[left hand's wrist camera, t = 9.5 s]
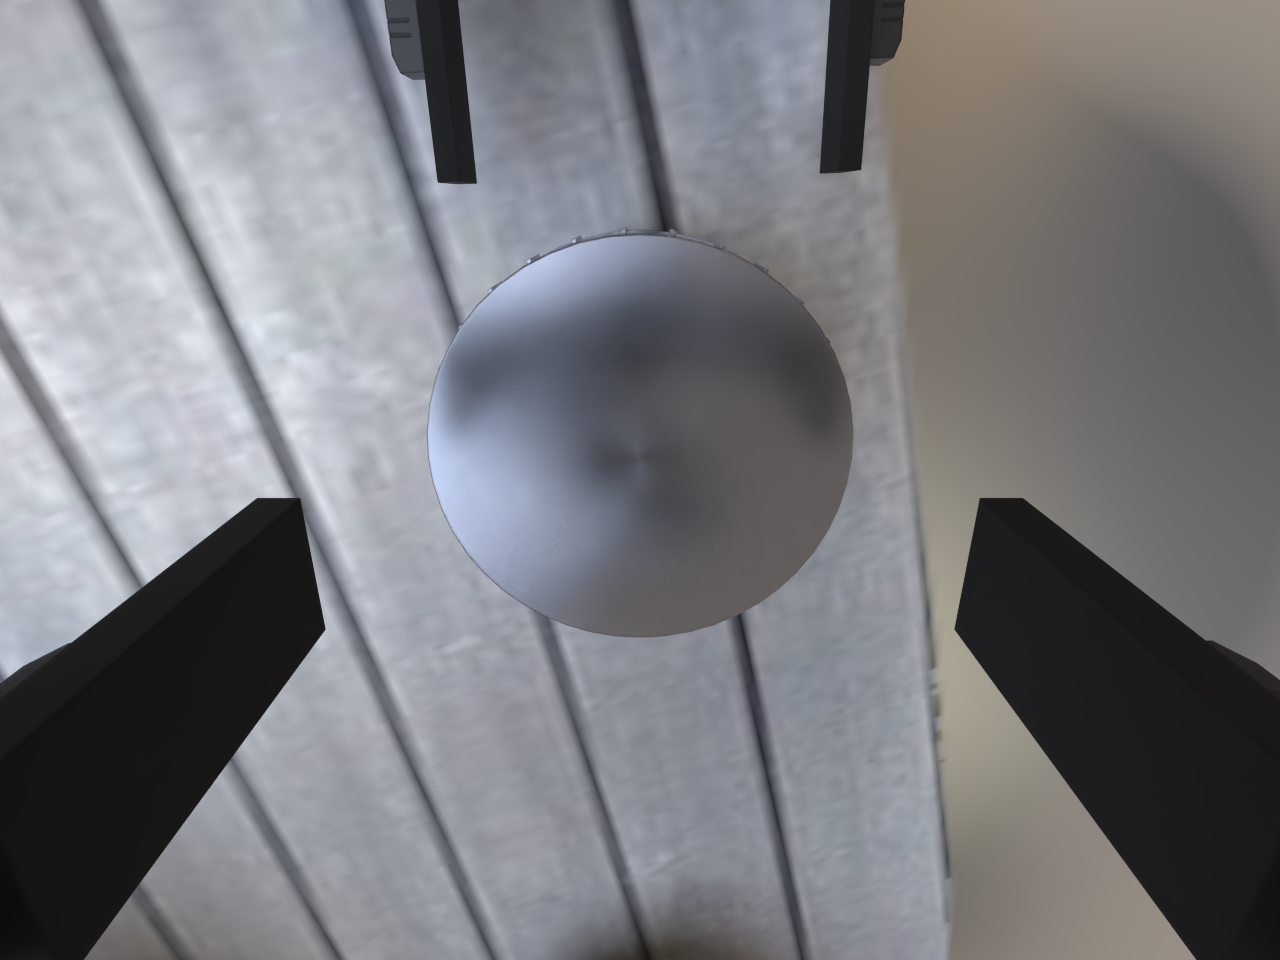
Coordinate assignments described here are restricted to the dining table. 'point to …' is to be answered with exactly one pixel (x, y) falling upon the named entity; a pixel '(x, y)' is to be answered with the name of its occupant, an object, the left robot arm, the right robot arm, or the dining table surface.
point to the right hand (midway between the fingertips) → (648, 179)
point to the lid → (640, 434)
